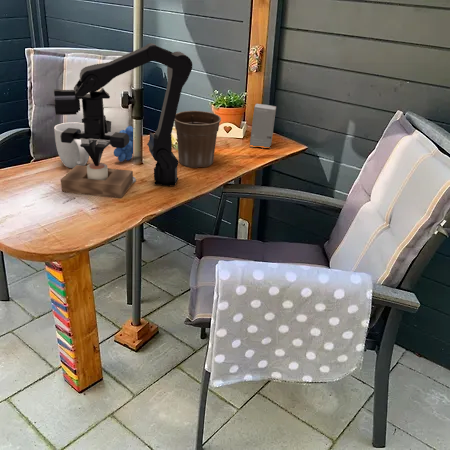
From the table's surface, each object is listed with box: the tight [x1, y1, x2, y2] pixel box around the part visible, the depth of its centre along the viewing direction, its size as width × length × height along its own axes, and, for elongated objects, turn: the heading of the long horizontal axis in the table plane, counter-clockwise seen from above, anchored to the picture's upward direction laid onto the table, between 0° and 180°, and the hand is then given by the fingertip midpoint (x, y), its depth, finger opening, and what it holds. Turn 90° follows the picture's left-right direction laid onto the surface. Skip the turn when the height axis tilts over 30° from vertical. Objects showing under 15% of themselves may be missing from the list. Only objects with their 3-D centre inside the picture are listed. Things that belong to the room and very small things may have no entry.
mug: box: [53, 121, 90, 169], centre depth 159 cm, size 15×11×13 cm
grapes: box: [113, 125, 134, 163], centre depth 168 cm, size 12×7×12 cm, turn 140°
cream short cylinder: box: [86, 162, 108, 180], centre depth 147 cm, size 6×6×6 cm
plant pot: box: [174, 110, 222, 169], centre depth 169 cm, size 16×16×16 cm
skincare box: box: [249, 103, 277, 148], centre depth 189 cm, size 8×7×16 cm
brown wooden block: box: [60, 165, 134, 199], centre depth 148 cm, size 18×12×4 cm, turn 83°
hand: (97, 165), depth 146 cm, fingers closed, pressing on cream short cylinder
